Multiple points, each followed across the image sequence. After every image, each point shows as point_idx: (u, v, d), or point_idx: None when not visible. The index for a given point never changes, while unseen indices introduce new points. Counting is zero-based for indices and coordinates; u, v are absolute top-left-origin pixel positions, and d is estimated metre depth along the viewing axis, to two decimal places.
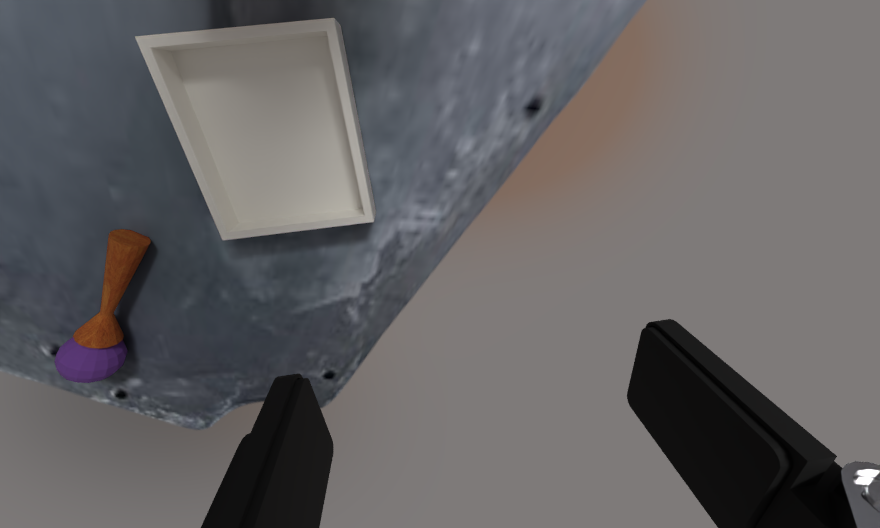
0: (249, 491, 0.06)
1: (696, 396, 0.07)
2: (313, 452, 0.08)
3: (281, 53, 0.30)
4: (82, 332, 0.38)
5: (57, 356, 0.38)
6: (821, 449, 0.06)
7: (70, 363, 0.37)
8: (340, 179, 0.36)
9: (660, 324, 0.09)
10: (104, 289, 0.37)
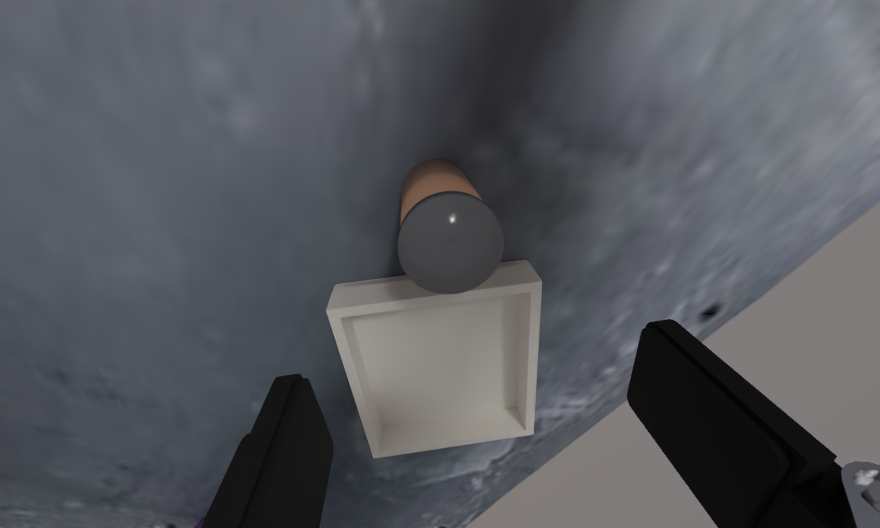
0: (249, 491, 0.06)
1: (696, 396, 0.07)
2: (313, 452, 0.08)
3: None
4: None
5: None
6: (821, 449, 0.06)
7: None
8: (495, 387, 0.33)
9: (660, 324, 0.09)
10: None
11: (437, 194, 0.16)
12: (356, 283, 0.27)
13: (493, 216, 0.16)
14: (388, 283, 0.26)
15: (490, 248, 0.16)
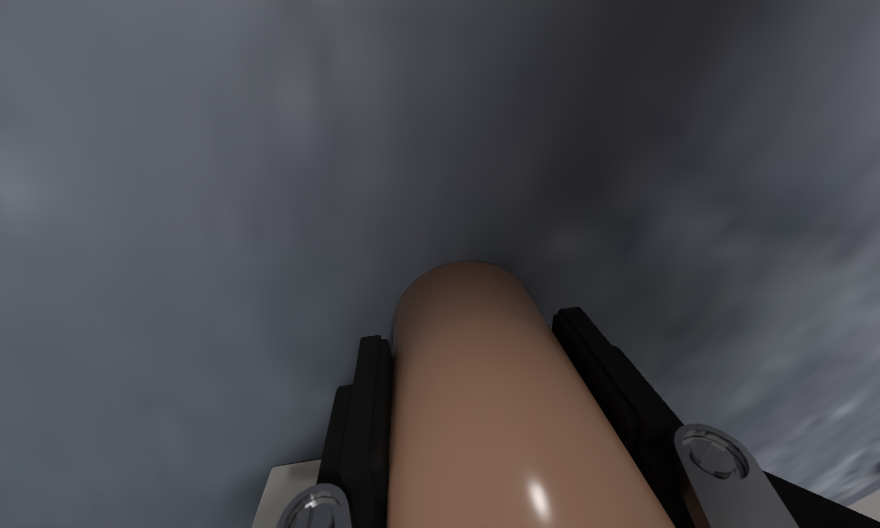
0: (367, 421, 0.07)
1: (584, 373, 0.08)
2: None
3: None
4: None
5: None
6: (661, 412, 0.06)
7: None
8: None
9: (566, 311, 0.10)
10: None
11: None
12: (311, 468, 0.14)
13: None
14: None
15: None
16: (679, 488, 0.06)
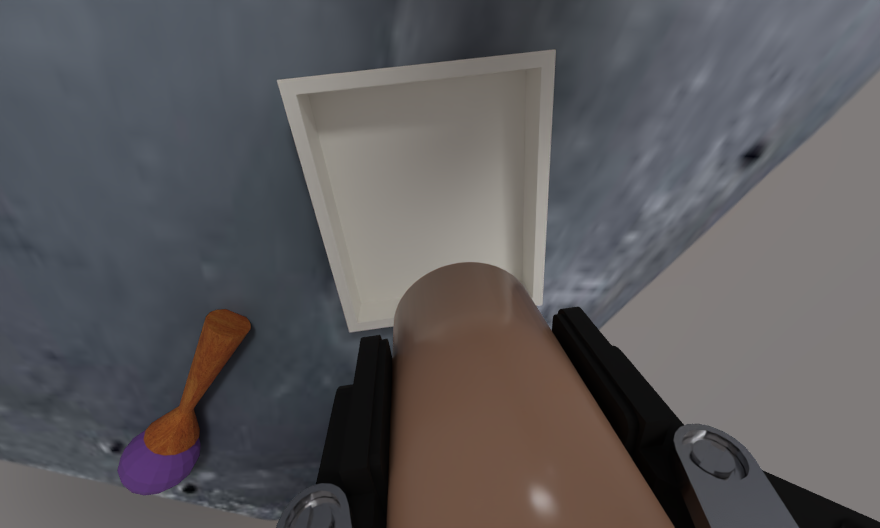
0: (368, 421, 0.07)
1: (584, 373, 0.08)
2: None
3: (454, 94, 0.22)
4: (155, 435, 0.29)
5: (122, 465, 0.29)
6: (661, 412, 0.06)
7: (140, 475, 0.29)
8: (496, 249, 0.28)
9: (566, 311, 0.10)
10: (189, 385, 0.28)
11: None
12: None
13: None
14: None
15: None
16: (679, 488, 0.06)
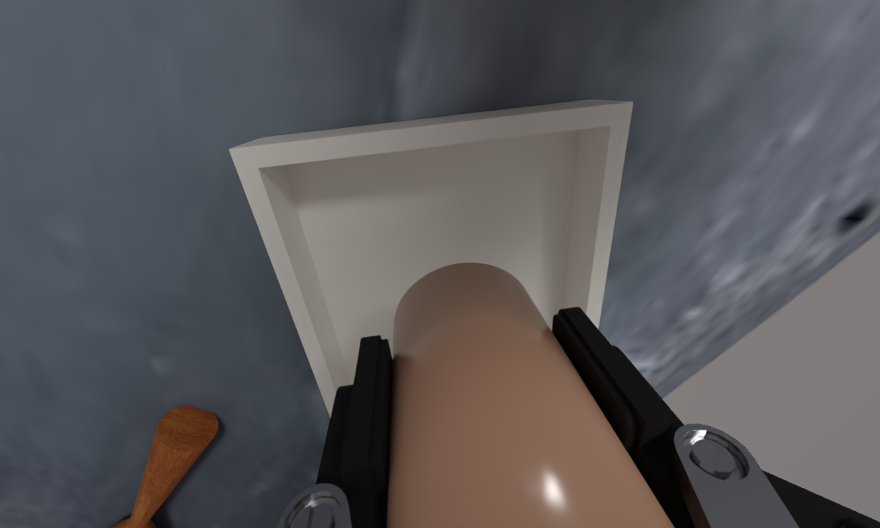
0: (368, 421, 0.07)
1: (584, 373, 0.08)
2: None
3: (480, 153, 0.16)
4: None
5: None
6: (661, 412, 0.06)
7: None
8: None
9: (566, 311, 0.10)
10: (140, 501, 0.23)
11: None
12: (299, 133, 0.15)
13: None
14: (353, 128, 0.15)
15: None
16: (679, 488, 0.06)
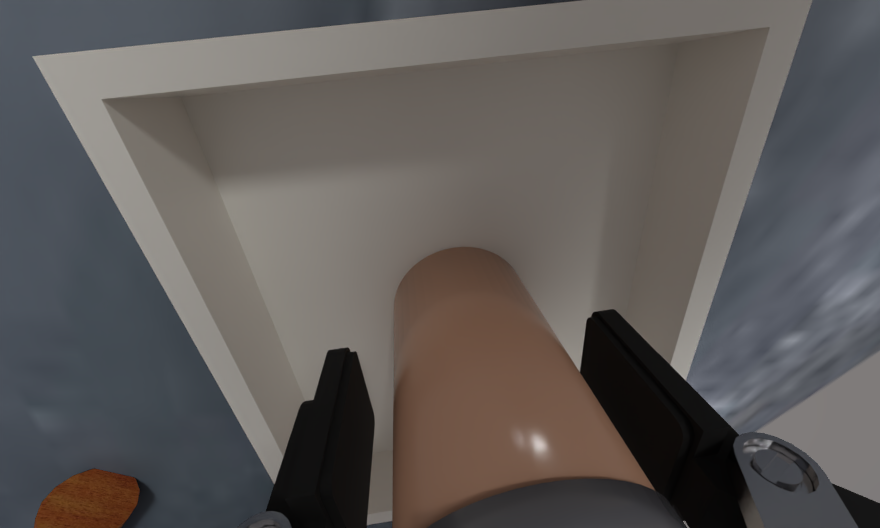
0: (323, 442, 0.07)
1: (626, 378, 0.08)
2: (363, 419, 0.09)
3: (516, 98, 0.10)
4: None
5: None
6: (718, 420, 0.06)
7: None
8: None
9: (601, 313, 0.09)
10: None
11: (521, 511, 0.04)
12: None
13: None
14: None
15: None
16: (742, 500, 0.06)
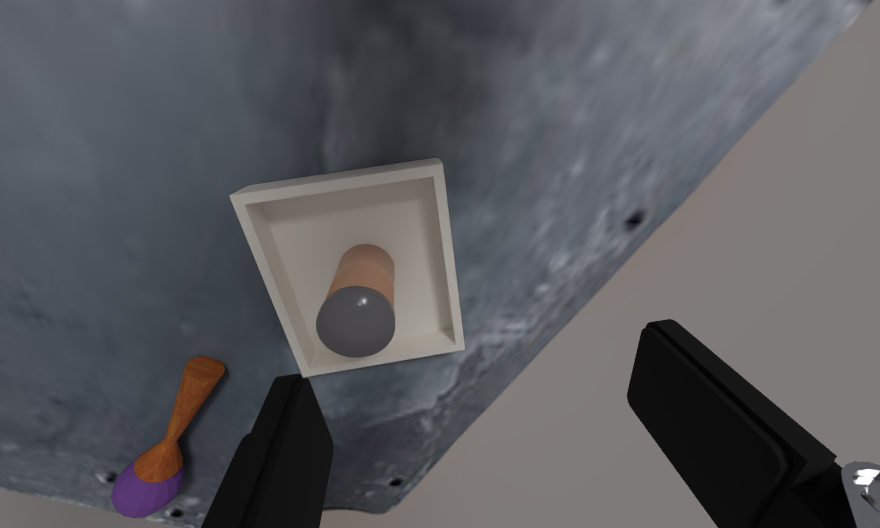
0: (249, 491, 0.06)
1: (696, 396, 0.07)
2: (313, 452, 0.08)
3: (375, 190, 0.28)
4: (144, 465, 0.34)
5: (115, 491, 0.34)
6: (821, 448, 0.06)
7: (130, 500, 0.34)
8: (426, 303, 0.33)
9: (660, 324, 0.09)
10: (173, 421, 0.34)
11: (342, 289, 0.22)
12: (269, 182, 0.27)
13: (382, 303, 0.22)
14: (299, 179, 0.27)
15: (384, 324, 0.23)
16: None
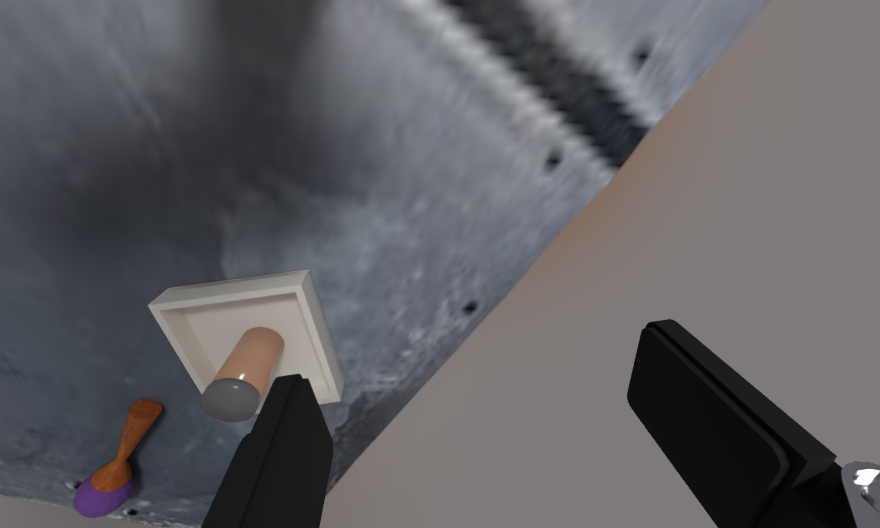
0: (249, 491, 0.06)
1: (696, 396, 0.07)
2: (313, 452, 0.08)
3: None
4: (99, 478, 0.45)
5: (76, 498, 0.45)
6: (821, 449, 0.06)
7: (87, 505, 0.45)
8: (313, 365, 0.44)
9: (660, 324, 0.09)
10: (120, 447, 0.44)
11: (217, 381, 0.33)
12: (182, 287, 0.37)
13: (244, 391, 0.33)
14: (203, 286, 0.37)
15: (248, 403, 0.33)
16: None
